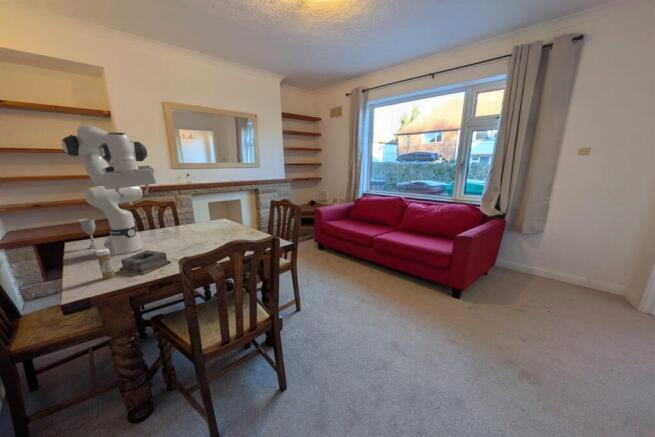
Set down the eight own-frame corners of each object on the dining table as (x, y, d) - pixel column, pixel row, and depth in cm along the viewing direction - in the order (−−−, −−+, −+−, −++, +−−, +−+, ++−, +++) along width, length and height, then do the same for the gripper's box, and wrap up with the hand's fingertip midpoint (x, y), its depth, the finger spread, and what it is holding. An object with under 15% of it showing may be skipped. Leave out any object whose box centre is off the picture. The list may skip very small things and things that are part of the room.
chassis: (119, 270, 122) (117, 259, 121) (147, 259, 135) (145, 249, 134) (144, 274, 117) (142, 263, 116) (171, 262, 130) (169, 252, 128)
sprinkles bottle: (102, 277, 115) (94, 250, 112) (114, 273, 118) (107, 247, 115) (104, 280, 112) (96, 252, 109) (116, 276, 116) (109, 249, 112)
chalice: (83, 250, 151) (75, 221, 147) (91, 246, 157) (83, 218, 153) (97, 248, 153) (90, 220, 148) (104, 245, 159) (97, 217, 155)
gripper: (152, 165, 127) (160, 192, 130) (101, 170, 117) (110, 199, 120) (152, 164, 122) (159, 192, 125) (97, 169, 112) (107, 200, 115)
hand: (134, 195), depth 123 cm, fingers open, 8 cm apart
